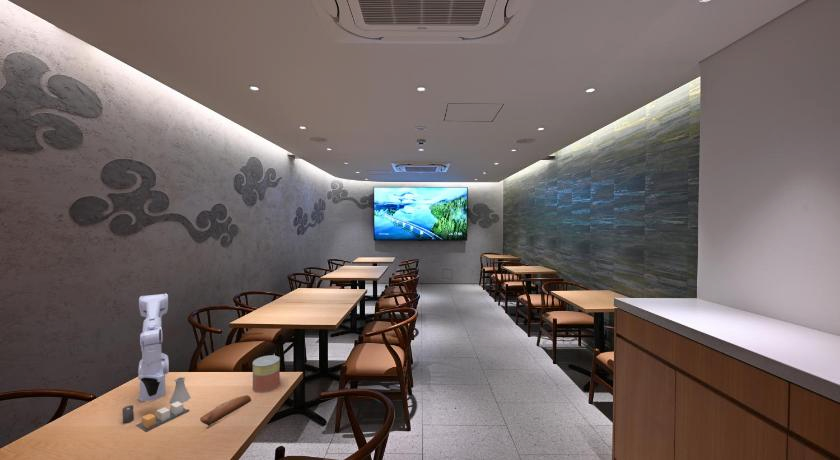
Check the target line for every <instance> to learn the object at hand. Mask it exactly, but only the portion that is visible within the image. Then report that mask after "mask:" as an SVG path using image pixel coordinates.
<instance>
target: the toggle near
mask: <svg viewBox="0 0 840 460" xmlns="http://www.w3.org/2000/svg"><path fill="white" fill-rule="evenodd" d="M169 404H170V409H169V410H170V411H171V413H173V414H175V415H177V414H179V413H181V412H183V408H184V403H180V402H178V401H177V402H175V403H173V404H171V403H169Z"/></svg>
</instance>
